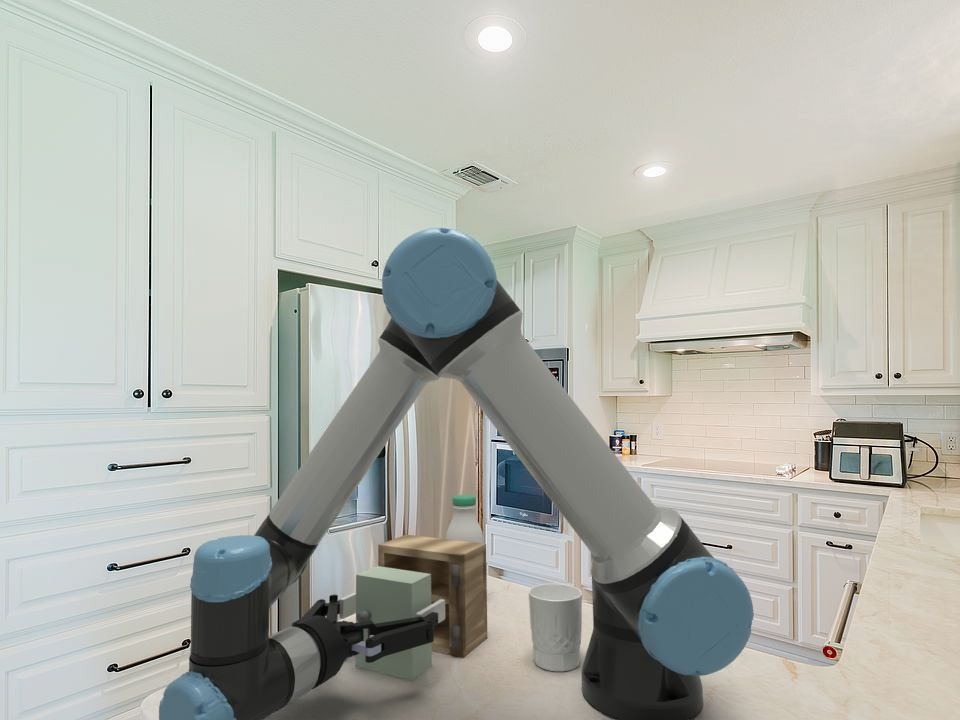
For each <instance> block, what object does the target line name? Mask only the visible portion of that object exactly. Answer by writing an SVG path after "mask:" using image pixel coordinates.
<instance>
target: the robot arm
mask: <svg viewBox="0 0 960 720" xmlns="http://www.w3.org/2000/svg"><path fill="white" fill-rule="evenodd" d="M381 278H382V280H381V287H382V289H381V293H382V299H383V303H384V305H385V308H386V311H387V313H388V314H389V316H390V319H389V322H388V323H387V326H386V327H385V329H384V330H383V332H382V333H381V335H380V336H379V337H378V339H377V341H378V347H379V352H378V353H377V355H376V356H375V357H374V359H373V360H372V362H371V363H370V364H369V366H368V368H367V369H366V371H365V372H364V374H363V375H362V376H361V377H360V379H359V381H358V382H357V384H356V386H355V387H354V388H353V390H352V392H350V394H349V395H348V397H347V398H346V399H345V401H344V403H343V404H342V405H341V407H340V409H339V410H338V411H337V413H336V415H335V416H334V417H333V418H332V420H331V422H330V423H329V425H328V426H327V428H326V429H325V431H324V432H323V434H322V435H321V437H320V438H319V439H318V441H317V442H316V444H315V445H314V447H313V448H312V450H311V451H310V453H309V455H308V456H307V457H306V458H305V460H304V461H303V463H302V464H301V466H300V467H299V469H298V470H297V472H296V473H295V475H294V476H293V477H292V479H291V481H290V482H289V484H288V485H287V486H286V488H285V490H283V492H282V493H281V495H280V496H279V498H278V499H277V501H276V502H275V504H274V505H273V506H272V509H271V510H270V511H269V514H268V515H267V517H265V519H264V520H263V521H262V523H261V525H260V526H259V527H258V529H257V530H256V531H255V533H254V534H253V535H252V534H249V535H248V534H247V535H246V534H245V535H230V536H225V537H220V538H216V539H212V540H208V541H206V542H204V543H202V544H201V545H199V547H198V548H196V551H195V553H194V556H193V564H192V566H193V567H192V575H191V577H190V584H189V587H190V590H191V600H190V601H191V605H190V606H191V607H190V608H191V609H190V613H191V614H190V655H189V658H188V671H186V672H184V673H182V674H181V675H180V676H179V677H177V678H176V679H174V680H173V681H171V682H170V683H169V684H168V685H167V686H166V688H165V689H164V691H163V693H162V695H163V697H162V699H161V700H160V702H159V705H158V720H264V719H266V718H268V717H269V716H271V715H272V714H274V713H275V712H278V711H280V710H282V709H283V708H285V707H286V706H287V705H289V704H291V703H292V702H294V701H296V700H298V698H301V697H302V696H304V695H306V694H307V693H309V692H310V691H311V690H314V689H316V688H318V687H320V686H321V685H323V684H324V683H327V682H328V681H329V680H330V679H332V678H334V677H335V676H337V675H338V673H339V671H340V670H341V668H342V667H343V665H344V664H345V662H346V660H347V659H348V658H351V657H354V656H355V657H356V655H357V654H359V653H362V654H365V661H366V662H367V663H372V662H374V661H376V660H378V659H380V658H382V657H384V656H387V655H391V654H394V653H397V652H401V651H404V650H408V649H411V648H414V647H418V646H421V645H424V644H428V643H431V642H433V641H434V627H435V626H437V625H438V623H440V622H441V621H443V620H444V619H445V600H443V599H440V600H438V601H437V602H435V603H433V604H432V605H430V606H428V607H426V608H425V609H423V610H421V611H420V612H418V613H416V614H415V615H416V617H414V618H408V619H402V620H395V621H389V622H383V623H376V624H374V623H373V621H364V622H358V623H356V622H353V621H347V620H343V619H346V618H348V617H350V616H352V615H353V614H356V591H355V592H353V593H350V594H348V595H345V596H344V597H342V598H339V595H338V594H330V595H329V599H328V601H329V602H326V599H324V598H323V599H322V598H321V599H320V598H319V599H318V600H317V601H315V603H314V604H313V605H312V606H311V607H310V608H309V609H308V610H307V611H306V612H305V613H304V615H303V616H302V617H301V618H299V619H298V620H296V621H293V622H292V623H291V626H289V627H285V628H283V629H282V630H279V631H277V632H275V633H273V634H271V635H270V609H271V607H272V606H273V604H274V603H276V601H277V600H279V598H280V597H281V596H282V595H283V594H284V593H285V591H286V590H287V589H288V588H289V587H290V586H292V585H293V584H294V583H295V582H297V581H298V579H299V578H300V577H301V576H302V574H303V573H304V572H305V569H306V568H307V565H308V563H309V560H310V559H311V556H313V554H314V553H315V551H316V550H317V547H318V546H319V544H320V543H321V541H322V540H323V538H324V537H325V536H326V534H327V533H328V531H329V529H330V528H331V526H332V525H333V523H334V522H335V521H336V519H337V517H338V516H339V514H340V513H341V512H342V510H343V508H344V506H346V505H347V503H348V501H349V499H350V498H351V497H352V496H353V494H354V492H355V491H356V490H357V487H359V484H360V483H361V482H362V480H363V479H364V477H365V476H366V474H367V472H368V471H369V470H370V469H371V467H372V465H373V464H374V462H375V461H376V459H377V458H378V457H379V455H380V454H381V452H382V450H384V447H385V446H386V444H387V443H388V441H390V438H392V436H393V435H394V432H395V431H396V430H397V428H398V426H399V425H400V424H401V422H402V420H403V419H404V418H405V416H406V415H407V413H408V412H409V410H410V409H411V407H412V406H413V404H414V403H415V401H416V400H417V398H418V397H419V395H420V394H421V393H422V391H423V390H424V388H425V386H426V385H427V383H430V382H435V381H438V380H439V379H440V378H443V379H449V380H450V379H453V380H456V381H459V382H460V383H461V384H462V386H463V388H464V389H465V390H466V391H467V392H468V394H469V395H470V396H471V398H472V399H473V401H474V402H475V403H476V405H478V407H479V408H480V409H481V410H482V412H483V414H485V416H486V417H487V419H488V420H489V421H490V422H491V424H492V425H493V426H494V428H495V429H496V430H497V432H498V433H499V434H500V436H501V437H502V438H503V440H505V442H506V444H508V446H509V447H510V449H511V450H512V451H513V453H514V454H515V455H516V456H517V458H518V459H519V460H520V462H521V463H522V464H523V466H524V467H525V468H526V469H527V471H528V472H529V473H530V475H531V476H532V477H533V479H534V480H535V481H536V482H537V484H538V485H539V486H540V488H541V489H542V491H543V492H544V493H545V494H546V495H547V497H548V498H549V500H550V501H551V502H552V503H553V505H554V507H556V509H557V510H558V511H559V513H560V514H561V516H562V517H564V519H565V520H566V522H567V523H568V524H569V526H570V527H571V529H573V531H574V532H575V534H576V535H577V537H579V539H580V540H581V541H582V542H583V544H584V545H585V546H586V548H587V550H588V551H589V552H590V560H591V565H590V575H591V589H592V592H591V593H592V619H593V620H592V621H593V629H592V633H591V636H590V640H589V643H588V646H587V650H586V654H585V657H584V661H583V664H582V666H581V673H580V674H581V693H582V695H583V696H584V698H585V699H586V701H587V702H588V703H589V704H590V705H592V706H593V707H594V708H595V709H597V710H598V711H599V712H602V713H604V714H606V715H607V716H610V717H612V718H615V719H618V720H687V719H689V720H691V719H693V718H694V716H695V715H696V716H697V715H698V714H700V712H701V711H702V708H703V707H704V706H703V705H704V696H703V694H704V693H703V683H702V679H701V676H707V675H711V674H714V673H717V672H718V671H721V670H723V669H725V668H727V667H728V666H729V665H731V663H733V662H734V661H735V660H736V659H737V658H738V657H739V656H740V654H741V653H742V652H743V650H744V649H745V647H746V645H747V644H748V642H749V639H750V637H751V633H752V625H753V620H754V605H753V600H752V597H751V594H750V593H751V592H749V589H748V587H747V585H746V584H745V582H744V581H743V580H742V578H741V577H740V576H739V575H738V573H737V572H736V571H734V569H733V568H732V567H730V566H728V564H727V563H726V562H724V561H722V560H720V559H717V558H715V557H714V556H713V555H712V554H711V552H709V550H708V549H707V548H706V546H704V544H703V543H702V542H701V540H700V539H699V538H698V537H697V535H696V534H695V533H694V531H693V530H692V529H691V527H690V526H689V525H688V523H686V521H685V520H684V519H683V517H682V516H681V515H680V513H679V512H678V511H677V510H676V509H673V508H667V507H660V506H656V505H654V504H655V503H653V502H652V500H651V499H650V498H649V496H648V494H646V493H645V491H644V490H643V488H642V487H641V486H640V485H639V484H638V482H637V481H636V480H635V478H634V477H633V475H631V474H630V472H629V471H628V469H627V468H626V467H625V466H624V464H623V463H622V462H621V460H620V459H619V458H618V456H617V455H616V453H614V451H613V450H612V448H610V446H609V445H608V443H607V442H606V441H605V440H604V439H603V437H602V436H601V434H599V432H598V431H597V429H596V428H595V427H594V426H593V424H592V423H591V421H590V420H589V419H588V418H587V417H586V415H585V414H584V413H583V411H582V410H581V409H580V407H579V406H578V405H577V403H576V402H575V401H574V400H573V399H572V397H571V396H570V394H569V393H568V392H567V391H566V389H565V388H564V387H563V385H562V384H561V383H560V382H559V381H558V379H557V378H556V377H555V375H554V374H553V373H552V371H551V370H550V369H549V368H548V366H547V365H546V363H545V362H544V361H543V360H542V358H540V356H539V355H538V354H537V352H536V351H535V350H534V348H533V347H532V345H531V344H530V343H529V342H528V341H527V339H526V337H524V336H523V333H522V323H523V322H522V321H523V311H522V310H521V309H520V308H519V307H518V305H517V304H516V303H515V301H514V300H513V298H511V296H510V294H508V292H507V290H506V289H505V288H504V287H503V286H502V284H501V283H500V282H499V281H498V278H497V273H496V269H495V266H494V263H493V262H492V260H491V257H490V256H489V254H488V252H487V251H486V249H485V248H484V247H483V245H482V244H481V243H480V242H478V241H477V240H476V239H475V238H474V237H472V236H471V235H469V234H467V233H465V232H463V231H460V230H457V229H453V228H446V227H431V228H426V229H422V230H419V231H417V232H414V233H413V234H411V235H409V236H408V237H405V238H404V239H403V240H402V241H400V243H398V244H397V246H396V247H394V249H393V251H391V253H390V255H389V256H388V258H387V260H386V263H385V264H384V268H383V272H382V277H381ZM338 598H339V600H338ZM338 619H342V621H341V620H338ZM364 629H368V639H366V642H363V640H364ZM696 716H695V717H696ZM692 717H693V718H692ZM690 718H691V719H690Z"/></svg>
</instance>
